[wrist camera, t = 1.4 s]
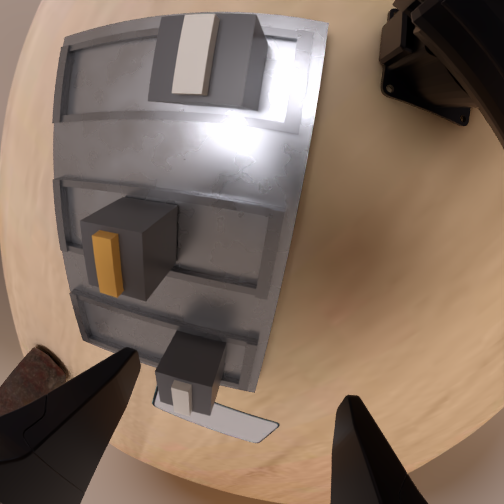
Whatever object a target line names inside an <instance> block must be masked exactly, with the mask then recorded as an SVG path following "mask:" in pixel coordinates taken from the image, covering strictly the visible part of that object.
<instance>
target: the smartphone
mask: <svg viewBox="0 0 504 504" xmlns="http://www.w3.org/2000/svg"><path fill="white" fill-rule="evenodd" d="M152 404H153V405H154V406H155V407H157V408H159V409H161V410H164V411H166V412H168V413H170V414H173V415H175V416H178V417H180V418H182V419H185V420H187V421H190V422H193V423H195V424H198V425H200V426H203V427H206V428H209V429H212V430H214V431H217V432H220V433H223V434H226V435H229V436H233V437H236V438H239V439H242V440H246V441H249V442H253V443H260V442H261V441H262V440H263V439H265V438H266V437H267V436H268V435H269V434H271V433H272V432H273V431H274V430H275V429H277V428H278V427H279V423H277V422H274V421H270V420H267V419H264V418H260V417H257V416H254V415H251V414H247V413H244V412H241V411H238V410H235V409H232V408H230V407H227V406H224V405H221V404H218V403H216V402H214V406H213V409H212V412H211V415H210V416H208V415H204V414H200V413H197V412H193V411H192V412H191V414H190V417H189V416H186V415H182V414H179V413H176V412H174V406H172V405H169V404H166V403H163V402H160V397H159V392H158V386H156V390H155V394H154V398H153V401H152Z"/></svg>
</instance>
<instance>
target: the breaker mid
mask: <svg viewBox="0 0 504 504" xmlns="http://www.w3.org/2000/svg"><path fill="white" fill-rule="evenodd" d="M177 212H178V205H174V204H167V203H161V202H154V201H147V200H140V199H133V198H126V197H122V198H120V199H118V200H116V201H114V202H113V203H111V204H109V205H107V206H105V207H103V208H101V209H100V210H98V211H96V212H94V213H93V214H91V215H89V216H87V217H85V218H84V219H82V220H80V227H81V236H82V244H83V252H84V258H85V265H86V271H87V277H88V282H89V285H93V286H96V287H99V290H100V293H104V294H107V295H110V296H113V297H116V298H118V297H119V296H120V295H125V296H128V297H132V298H135V299H139V300H142V301H147V300H148V298H149V297H150V296H151V295H152V293H153V292H154V291H155V289H156V288H157V287H158V285H159V284H160V283H161V282H162V280H163V279H164V278H165V276H166V275H167V274H168V273H169V271H170V270H171V269H172V268H173V266H174V265H175V264H176V240H177Z"/></svg>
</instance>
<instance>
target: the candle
mask: <svg viewBox="0 0 504 504" xmlns="http://www.w3.org/2000/svg"><path fill="white" fill-rule="evenodd" d="M65 382H66V376H65V373H64V371H63V370H62V369H61V368H60V367H59V366H58V365H57V364H56V362H54V361H53V360H52V359H51V358H50V357H49V356H48V355H47V354H46V353H44V352H42V351H41V350H39V349H38V348H35V347H34V348H33V349H32V350H31V351H30V352H29V353H28V354H27V355H26V356H25V357H24V359H23V360H22V361H21V362H20V363H19V364H18V366H17V367H16V368H15V369H14V370H13V371H12V373H11V374H10V375H9V377H8V378H7V379H6V380H5V381H4V383H3V384H2V385H1V387H0V416H2V415H4V414H6V413H9V412H11V411H14V410H16V409H18V408H21V407H23V406H25V405H27V404H29V403H31V402H33V401H35V400H36V399H38V398H40V397H42V396H43V395H45V394H48V393H49V392H51V391H52V390H54V389H56V388H57V387H59V386H61V385H62V384H64V383H65Z"/></svg>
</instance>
